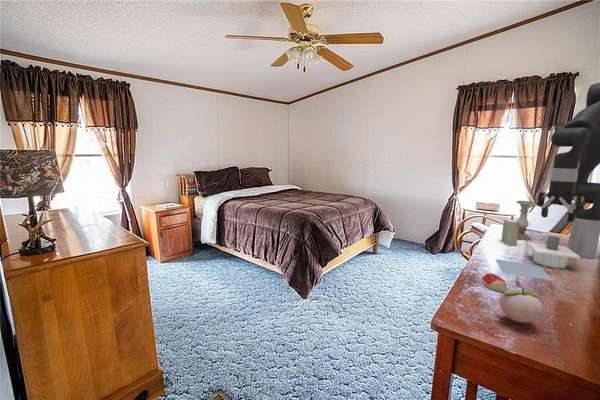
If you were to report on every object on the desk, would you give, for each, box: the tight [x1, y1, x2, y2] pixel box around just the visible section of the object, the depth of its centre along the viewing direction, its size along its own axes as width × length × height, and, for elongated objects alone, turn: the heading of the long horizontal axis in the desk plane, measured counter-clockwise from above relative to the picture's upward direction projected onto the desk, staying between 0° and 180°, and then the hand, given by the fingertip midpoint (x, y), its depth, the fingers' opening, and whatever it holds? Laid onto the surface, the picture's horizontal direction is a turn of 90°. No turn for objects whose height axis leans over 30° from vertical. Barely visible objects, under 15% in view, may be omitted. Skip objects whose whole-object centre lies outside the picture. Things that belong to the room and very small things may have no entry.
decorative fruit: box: [498, 287, 544, 323], centre depth 72 cm, size 9×8×10 cm
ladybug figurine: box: [481, 272, 508, 293], centre depth 94 cm, size 7×10×4 cm
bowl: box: [532, 250, 569, 269], centre depth 112 cm, size 10×10×6 cm
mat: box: [494, 258, 554, 282], centre depth 107 cm, size 15×15×1 cm
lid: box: [526, 235, 581, 260], centre depth 111 cm, size 13×13×6 cm
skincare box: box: [500, 218, 520, 247], centre depth 138 cm, size 6×4×12 cm
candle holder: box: [515, 200, 535, 241], centre depth 147 cm, size 9×9×20 cm
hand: (556, 219), depth 109 cm, fingers open, 8 cm apart
